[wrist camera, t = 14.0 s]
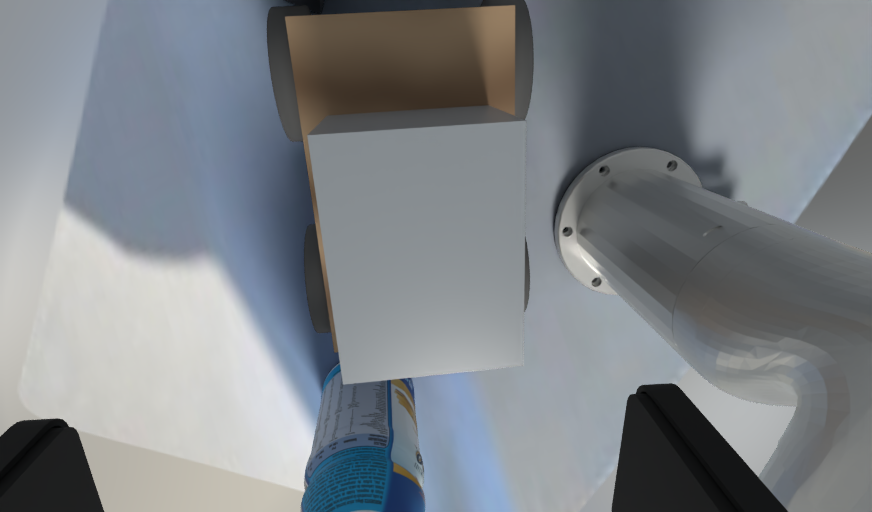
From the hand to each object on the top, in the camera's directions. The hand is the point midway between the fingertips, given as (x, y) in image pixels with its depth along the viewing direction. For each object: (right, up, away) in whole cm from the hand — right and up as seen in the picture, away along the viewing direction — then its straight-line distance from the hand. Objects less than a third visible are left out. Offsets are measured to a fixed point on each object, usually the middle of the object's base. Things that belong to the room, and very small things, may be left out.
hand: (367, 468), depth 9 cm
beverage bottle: (-5, -8, +37) cm, 38 cm away
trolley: (-1, +11, +30) cm, 32 cm away
